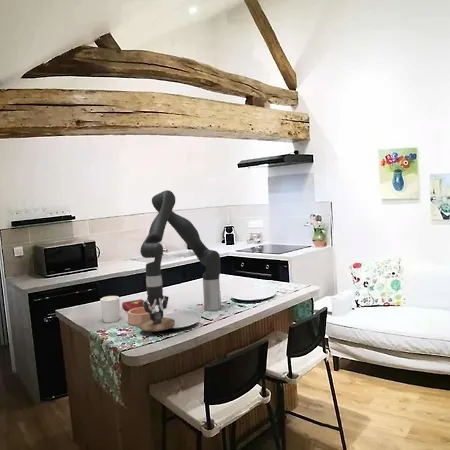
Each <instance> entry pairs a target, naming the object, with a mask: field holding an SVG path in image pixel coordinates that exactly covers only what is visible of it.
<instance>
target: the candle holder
mask: <svg viewBox="0 0 450 450" xmlns="http://www.w3.org/2000/svg"><path fill="white" fill-rule="evenodd" d="M99 301H100V306H101V312H102V313H101V314H102V321H103V323H106V324H107V323H116V322H118V321H120V296H118V295H107V296H103V297H102V298H100V300H99Z"/></svg>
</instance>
